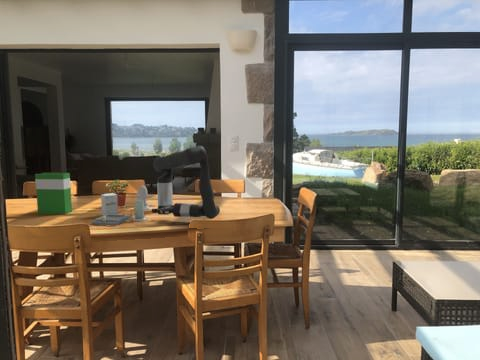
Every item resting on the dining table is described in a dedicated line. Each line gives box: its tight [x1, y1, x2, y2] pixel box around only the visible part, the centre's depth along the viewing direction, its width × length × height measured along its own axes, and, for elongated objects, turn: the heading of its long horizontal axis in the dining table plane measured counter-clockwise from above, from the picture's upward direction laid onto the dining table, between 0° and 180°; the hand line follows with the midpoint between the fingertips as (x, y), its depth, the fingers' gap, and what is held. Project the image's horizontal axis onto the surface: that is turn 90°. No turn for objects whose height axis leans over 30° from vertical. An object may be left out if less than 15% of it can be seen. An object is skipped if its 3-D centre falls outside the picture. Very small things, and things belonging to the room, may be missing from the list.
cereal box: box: [34, 172, 73, 215], centre depth 242 cm, size 18×7×24 cm, turn 84°
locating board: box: [91, 213, 132, 227], centre depth 220 cm, size 18×14×4 cm
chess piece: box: [133, 185, 151, 211], centre depth 252 cm, size 10×10×15 cm
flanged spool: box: [131, 199, 148, 223], centre depth 223 cm, size 8×8×11 cm
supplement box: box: [100, 192, 119, 216], centre depth 235 cm, size 7×7×13 cm
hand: (155, 209), depth 221 cm, fingers open, 8 cm apart
